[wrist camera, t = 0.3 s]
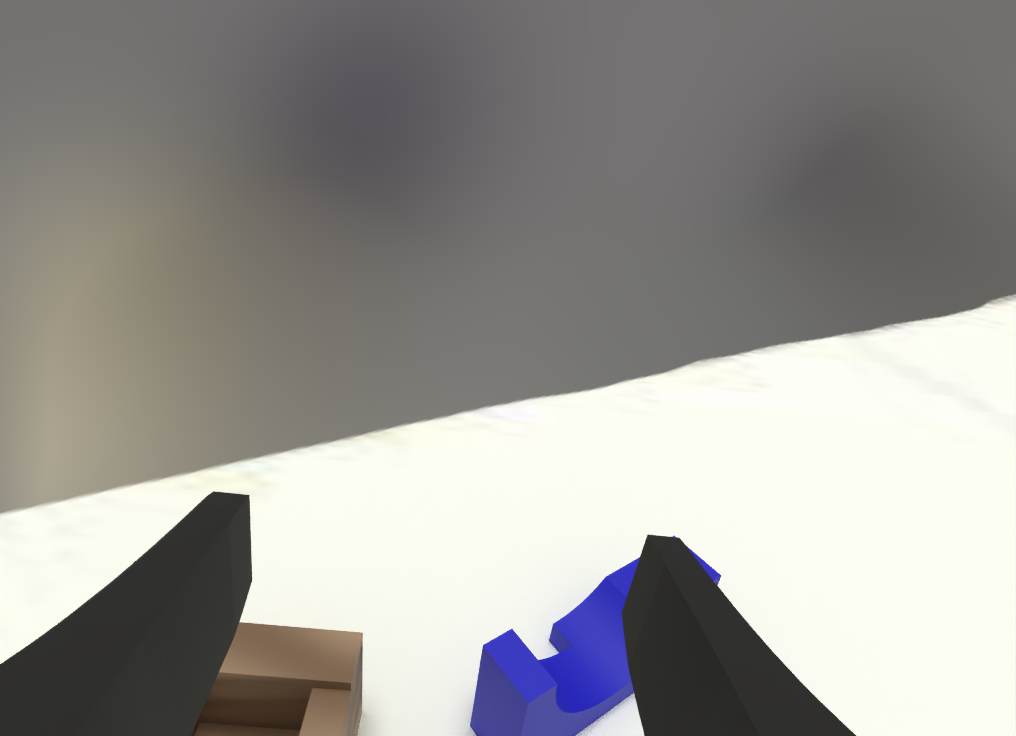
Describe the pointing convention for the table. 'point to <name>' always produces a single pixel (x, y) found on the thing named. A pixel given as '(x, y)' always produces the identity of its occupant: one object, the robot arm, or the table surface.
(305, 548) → the table surface
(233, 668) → the socket block
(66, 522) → the table surface
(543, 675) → the cable clip
